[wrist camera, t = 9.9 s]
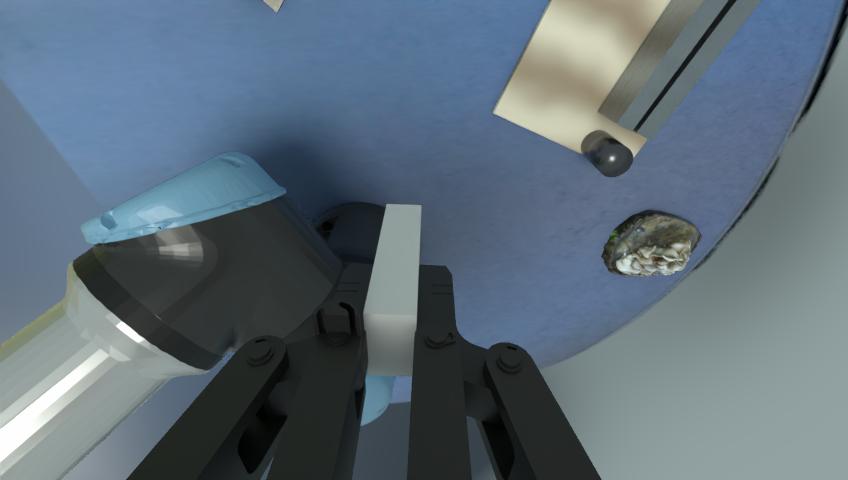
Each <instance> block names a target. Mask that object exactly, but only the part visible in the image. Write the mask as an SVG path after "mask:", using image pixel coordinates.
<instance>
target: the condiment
mask: <svg viewBox="0 0 848 480" xmlns="http://www.w3.org/2000/svg"><path fill="white" fill-rule="evenodd" d="M263 1H264V2H265V3H267V4H268V5H269V6H270V7H271V8H272V9H274V10H275V11H276V12H278V10H279V8H280V6H281V4H282V2H283V1H284V0H263Z"/></svg>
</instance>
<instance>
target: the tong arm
mask: <svg viewBox="0 0 848 480" xmlns="http://www.w3.org/2000/svg"><path fill="white" fill-rule="evenodd" d="M727 2H728V0H672V1H671V2H670V4H669V5H668V7H667V8H666V10H665V11H664V13H663V14H662V16H661V17H660V19H659V20H658V22H657V23H656V25H655V26H654V28H653V30H652V31H651V33H650V34H649V36H648V37H647V39H646V40H645V42H644V43H643V45H642V46H641V48H640V49H639V51H638V52H637V54H636V55H635V57H634V58H633V60H632V61H631V63H630V64H629V66H628V67H627V69H626V70H625V72H624V73H623V75H622V76H621V78H620V79H619V81H618V82H617V84H616V85H615V87H614V88H613V90H612V91H611V93H610V94H609V96H608V97H607V99H606V100H605V102H604V103H603V105H602V106H601V108H600V109H599V111H598V112H599V113H601V114H602V115H604V116H605V117H607V118H608V119H610V120H611V121H613V122H614V123H616V124H618V125H620V126H622V127H624V128H626V129H628V130H630V131H633V129H634V128H635V127H636V125H637V124H638V123H639V121H640V120H641V119H642V117H643V116H644V114H645V113H646V112H647V110H648V109H649V108H650V106H651V105H652V104H653V102H654V101H655V100H656V98H657V97H658V95H659V94H660V93H661V91H662V90H663V89H664V87H665V86H666V85H667V83H668V82H669V80H670V79H671V78H672V76H673V75H674V74H675V72H676V71H677V70H678V68H679V67H680V66H681V64H682V63H683V61H684V60H685V59H686V57H687V56H688V55H689V53H690V52H691V51H692V49H693V48H694V47H695V45H696V44H697V42H698V41H699V40H700V38H701V37H702V36H703V34H704V33H705V32H706V30H707V29H708V27H709V26H710V25H711V23H712V22H713V21H714V19H715V18H716V17H717V15H718V14H719V13H720V11H721V10H722V8H723V7H724V6H725V4H726V3H727Z"/></svg>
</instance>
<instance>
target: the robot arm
mask: <svg viewBox="0 0 848 480" xmlns="http://www.w3.org/2000/svg"><path fill="white" fill-rule="evenodd" d="M286 192H287V191H286V190H285V188H284V187H280V186H279V185H278V184H277V183H276V182H275V181H274V180H273V179H272V178H271V177H270V176H269V175H268V174H267V173H266V172H265V171H264V170H263V169H262V168H261V167H260V166H259V165H258V164H257V162H256V161H254V160H253V159H252V158H251V157H249V156H247V155H245V154H242V153H238V152H226V153H223V154H220V155H218V156H216V157H214V158H211V159H209V160H207V161H205V162H203V163H201V164H199V165H197V166H195V167H193V168H191V169H189V170H187V171H185V172H183V173H181V174H179V175H177V176H175V177H173V178H171V179H169V180H167V181H165V182H163V183H161V184H159V185H157V186H155V187H153V188H151V189H149V190H147V191H146V192H144V193H142V194H140V195H138V196H136V197H134V198H132V199H130V200H128V201H126V202H124V203H122V204H120V205H118V206H116V207H115V208H112V209H110V210H109V211H107V212H105V213H103V214H101V215H99V216H97V217H95V218H93V219H91V220H89V221H87V222H85V223H84V224H83V225H82V226H81V232H82V233H83V235H84V236H85V241H86V242H88V243H89V244H93V245H94V246H93V247H92V248H91V249H89V250H88V251H87V252H85V253H84V254H82V255H81V256H79V257H78V258H77V259H75V260H73V261H72V262H71V263H70V264H69V265H68V268H67V293H66V295H65V297H64V299H63V300H62V301H60V302H59V303H57V304H56V305H55V306H53V307H52V308H51V309H49V310H48V311H47V312H45V313H44V314H43V315H41V316H40V317H38V318H37V319H36V320H34V321H33V322H32V323H30V324H29V325H28V326H26V327H25V328H23V329H22V330H21V331H19V332H18V333H17V334H15V335H14V336H13V337H11V338H10V339H9V340H7V341H6V342H4V343H3V344H2V345H0V480H61V479H62V478H63V477H64V476H65V475H66V474H67V473H69V472H70V471H71V470H72V469H73V468H74V467H75V466H76V465H77V464H78V463H79V462H80V461H81V460H83V459H84V458H85V457H86V456H87V455H88V454H89V453H90V452H91V451H92V450H94V449H95V448H96V447H97V446H98V445H99V444H100V443H101V442H102V441H103V440H104V439H106V437H107V436H109V435H110V434H111V433H112V432H113V431H114V430H115V429H116V428H117V427H119V425H121V424H122V423H123V422H124V421H125V420H126V419H127V418H128V417H129V416H131V415H132V414H133V413H134V412H135V411H136V410H137V409H138V408H139V407H140V406H141V405H142V404H144V403H145V402H146V401H147V400H148V399H149V398H150V397H151V396H152V395H153V394H154V393H155V392H156V391H158V390H159V389H160V388H161V387H162V386H163V385H164V384H165V383H166V382H167V381H169V380H170V379H172V378H175V377H177V376H185V375H197V374H205V373H207V372H209V371H210V370H211V369H212V368H213V367H214V366H215V365H216V364H217V363H218V362H219V361H220V360H221V359H222V358H223V357H224V356H225V355H227V354H228V353H229V352H230V351H233V352H235V354H234V355H233V356H232V358H231V359H230V360H229V361H228V362H227V363H226V365H225V366H224V367H223V368H222V369H221V370H220V371H219V373H218V374H217V375H216V376H215V377H214V378H213V380H212V381H211V382H210V383H209V384H208V385H207V387H206V388H205V389H204V390H203V391H202V392H201V393H200V395H199V396H198V397H197V398H196V399H195V401H194V402H193V403H192V404H191V405H190V406H189V408H188V409H187V410H186V411H185V412H184V413H183V414H182V416H181V417H180V418H179V419H178V420H177V421H176V423H175V424H174V425H173V426H172V427H171V428H170V429H169V431H168V432H167V433H166V434H165V435H164V437H163V438H162V439H161V440H160V441H159V442H158V443H157V445H156V446H155V447H154V448H153V449H152V450H151V451H150V453H149V454H148V455H147V456H146V457H145V458H144V460H143V461H142V462H141V463H140V464H139V465H138V467H137V468H136V469H135V470H134V471H133V472H132V474H131V475H130V476H129V477H128V478H127V479H126V480H260V479H261V477H262V476H263V474H264V472H265V470H266V469H267V467H268V465H269V463H270V462H271V460H272V458H273V457H274V459H273V461H272V464H271V467H270V470H269V473H268V476H267V479H266V480H352V475H353V469H354V463H355V457H356V451H357V444H358V438H359V431H360V426H362V425H365V424H367V423H369V422H371V421H373V420H374V419H376V418H377V417H378V416H380V415H381V414H382V413H383V412H384V410H385V409H386V408H387V406H388V404H389V402H390V399H391V397H392V391H393V386H394V380H395V377H396V376H412V392H411V413H410V432H409V453H408V473H407V480H472V478H471V466H470V454H469V443H468V431H467V420H466V415H467V416H470V417H473V418H475V419H476V422H477V426H478V428H479V431H480V434H481V437H482V440H483V442H484V445H485V448H486V451H487V454H488V456H489V459H490V462H491V465H492V468H493V470H494V473H495V476H496V479H497V480H601V478H600V476H599V475H598V473H597V471H596V469H595V467H594V466H593V464H592V462H591V460H590V459H589V457H588V455H587V453H586V452H585V450H584V448H583V447H582V445H581V443H580V442H579V439H578V438H577V436H576V434H575V433H574V431H573V429H572V427H571V426H570V424H569V422H568V420H567V419H566V417H565V415H564V413H563V412H562V410H561V408H560V406H559V405H558V403H557V401H556V399H555V398H554V396H553V395H552V392H551V391H550V389H549V388H548V385H547V384H546V382H545V380H544V378H543V377H542V375H541V373H540V371H539V370H538V368H537V366H536V365H535V363H534V361H533V359H532V358H531V356H530V355H529V354H528V353H527V351H526V350H524V349H523V348H521V347H519V346H518V345H515V344H512V343H497V344H495V345H492V346H491V347H490V348H489V349H485V348H482V347H479V346H476V345H474V344H471V343H469V342H468V341H466V340H465V339H464V338H463V337H462V336H461V335H460V334H459V332H458V330H457V327H456V320H455V307H454V295H453V283H452V274H451V273H450V271H449V270H448V269H447V267H446V266H435V265H419V258H420V230H421V205H403V204H387V205H386V208H383V207H381V206H378V205H374V204H369V203H347V204H342V205H339V206H336V207H333V208H331V209H329V210H328V211H326V212H325V213H323V214H322V215H321V216H320V217H319V218H318V219H317V220H316V221H315V223H314V224H313V225H312V224H311V223H310V222H309V221H308V219H307V218H306V217H305V216H304V215H303V214H302V212H301V211H300V210H299V209H298V208H297V207H296V205H295V204H294V203H293V202H292V201H291V200H290V198H289V197H288V196H287V195H286V194H285V193H286Z"/></svg>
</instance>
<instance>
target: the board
mask: <svg viewBox="0 0 848 480" xmlns="http://www.w3.org/2000/svg"><path fill="white" fill-rule="evenodd" d="M671 1H672V0H549V2H548V4H547V6H546V8H545V10H544V12H543V14H542V16H541V18H540V20H539V22H538V24H537V25H536V27H535V29H534V31H533V33H532V35H531V37H530V39H529V41H528V43H527V45H526V47H525V49H524V51H523V53H522V55H521V56H520V58H519V60H518V62H517V64H516V66H515V68H514V70H513V72H512V74H511V76H510V78H509V80H508V82H507V84H506V86H505V88H504V89H503V91H502V93H501V95H500V97H499V99H498V101H497V103H496V105H495V107H494V109H493V111H492V112H493V113H494V114H496V115H498V116H500V117H503V118H505V119H507V120H509V121H511V122H513V123H516V124H518V125H520V126H522V127H524V128H526V129H529V130H531V131H533V132H535V133H537V134H539V135H542V136H544V137H546V138H548V139H550V140H552V141H555V142H557V143H559V144H561V145H563V146H565V147H568V148H570V149H572V150H574V151H576V152H578V153H581V154H582V152H581V143H582V141H583V139H584V138H585V137H586V136H587V135H588V134H589V133H591V132H593V131H596V130H603V131H606V132H607V133H608V134H610V135H611V136H613V137H614V138H615V139H617V140H618V141H619V142H621V143H622V144H623V145H625V146H626V147H627V148H629V149H630V150H631V151H632V153H633V157H634V156H635V155H636V154H637V152H638V151H639V150H640V148H641V147H642V146H643V145H644V143H645V142H646V141H647V140H648V139H647V138H645V137H643V136H641V135H639V134H637V133H635V132H634V131H630V130H628V129H626V128H624V127H622V126H620V125H618V124H616V123H614V122H613V121H611V120H610V119H608V118H607V117H605V116H604V115H602V114H601V113H599V112H598V111H599V109H600V108H601V106H602V105H603V103H604V102H605V100H606V99H607V97H608V96H609V94H610V93H611V91H612V90H613V88H614V87H615V85H616V84H617V82H618V81H619V79H620V78H621V76H622V75H623V73H624V72H625V70H626V69H627V67H628V66H629V64H630V63H631V61H632V60H633V58H634V57H635V55H636V54H637V52H638V51H639V49H640V48H641V46H642V45H643V43H644V42H645V40H646V39H647V37H648V36H649V34H650V33H651V31H652V30H653V28H654V26H655V25H656V23H657V22H658V20H659V19H660V17H661V16H662V14H663V13H664V11H665V10H666V8H667V7H668V5H669V4H670V2H671Z"/></svg>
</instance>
